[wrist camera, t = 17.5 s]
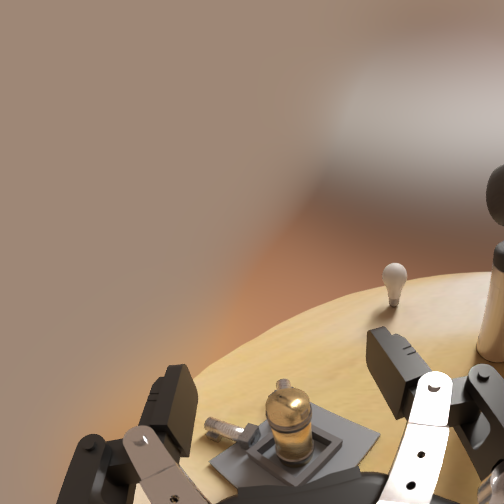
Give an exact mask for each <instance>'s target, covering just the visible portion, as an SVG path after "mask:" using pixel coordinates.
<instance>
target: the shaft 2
mask: <svg viewBox="0 0 504 504" xmlns="http://www.w3.org/2000/svg"><path fill="white" fill-rule="evenodd" d="M276 388H277V390H275V392H276V391H278V390H281V389H285V388H293V387H291V384H290V381H289V380H288V379H280V380H278V381H277V383H276Z"/></svg>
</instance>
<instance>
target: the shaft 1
mask: <svg viewBox="0 0 504 504" xmlns="http://www.w3.org/2000/svg"><path fill="white" fill-rule="evenodd" d="M204 428H205V430H207V431H208V433H207V434H206V436H207V438H208V439H211V440H213V441H216V442H219V440H220V439H221V438H222V437H225V438H228V439H231V440H234V441H236V442H239V444H240V446H241V448H242V449H245V450H248V449H249V448H251V447H252V446H253V445H255V444H256V443H257V442H258V440H259V439H260V437H261V433H260V430H259V426H257V425H253V424H250V423H248V424H247V426H246V427H245V428H242V427H239V426H236V425H233V424H230V423H227V422H224V421H221V420H219V419H216V418H213V417H209V418H208V419H207V420H206V421H205V424H204Z"/></svg>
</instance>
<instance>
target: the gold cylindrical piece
mask: <svg viewBox="0 0 504 504" xmlns="http://www.w3.org/2000/svg"><path fill="white" fill-rule="evenodd" d="M266 417H267V421H268V424H269V426H270V427H271V429H272V433H273V437H274V441H275V444H276V445H275V451H276V454H277V457H278V458H279V460H280V461H281V463H282V464H283V465H285V466H287V467H290V468H298V467H302V466H304V465H306V464H307V463H309V462H310V460H311V459H312V457H313V453H314V441H313V439H312V429H311V419H312V407H311V404H310V402H309V397H308V395H307V394H306V393H305V392H304V391H302V390H300V389H296V388H285V389H281V390H278V391H276V392H275V391H274V392H273V393H272V394H270V395H269V396H268V399H267V401H266Z"/></svg>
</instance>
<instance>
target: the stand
mask: <svg viewBox="0 0 504 504" xmlns="http://www.w3.org/2000/svg"><path fill="white" fill-rule="evenodd" d="M310 404H311V407H312V419H311V429H312V439H313V441H314V453H313V457H312V459H311V460H310V462H309V463H307V464H306V465H304V466H302V467H298V468H290V467H287V466H285V465H283V464H282V463H281V461H280V460H279V458H278V457H277V454H276V451H275V445H276V444H275V441H274V437H273V433H272V429H271V427H270V426H269V424H268V421H267V420H265V421H264V422H263V423H262V424H260V425H259V430H260V433H261V437H260V439H259V440H258V442H257V443H256V444H255V445H253V446H252V447H251V448H249V449H248V450H245V449H242V448H241V446H240V444H239V442H236V443H235V444H233V445H232V446H231V447H229V448H228V449H226V450H225V451H223V452H222V453H221V454H219V455H218V456H216V457H215V458H213V459H211V460H210V461H209V462H210V464H211V465H212V466H213V467H214V468H215V469H216V470H217V471H218V472H219V473H220V474H221V475H222V476H224V477H225V478H226V479H227V480H228V481H229V482H230V483H231V484H232V485H233V486H235V487H236V488H237V489H238V487H250V486H261V485H277V486H302V485H305V484H307V483H310V482H312V481H314V480H317V479H319V478H321V477H323V476H326V475H328V474H330V473H334V472H338V471H342V470H346V469H349V468H353V467H356V466H358V465H359V463H360V462H361V461H362V460H363V458H364V457H365V456H366V455H367V453H368V452H369V451H370V449H371V448H372V447H373V446H374V444H375V443H376V441H377V440H378V439H379V437H380V433H378V432H375V431H373V430H370V429H368V428H366V427H363V426H361V425H358V424H356V423H354V422H352V421H349V420H347V419H345V418H343V417H340V416H338V415H336V414H334V413H332V412H330V411H327V410H325V409H323V408H321V407H319V406H317V405H315V404H313V403H311V402H310Z"/></svg>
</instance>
